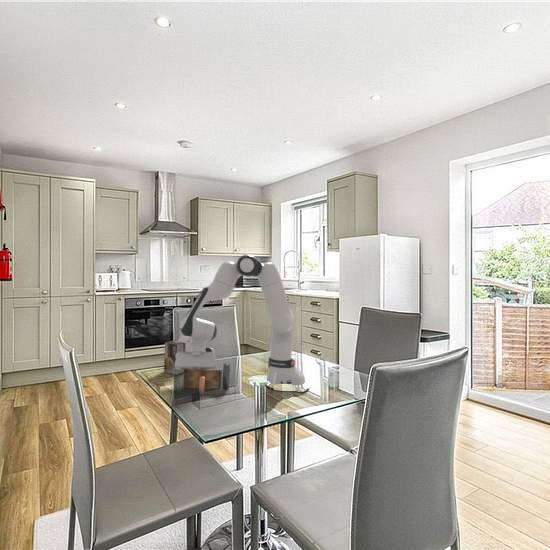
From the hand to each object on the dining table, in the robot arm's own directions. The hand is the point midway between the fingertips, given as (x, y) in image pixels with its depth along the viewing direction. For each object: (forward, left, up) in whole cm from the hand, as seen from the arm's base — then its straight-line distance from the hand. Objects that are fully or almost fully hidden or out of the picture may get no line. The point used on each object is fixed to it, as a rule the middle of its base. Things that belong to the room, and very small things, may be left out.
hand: (194, 377), depth 195 cm
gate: (-4, 0, -4) cm, 6 cm away
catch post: (-6, +6, -5) cm, 10 cm away
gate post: (-15, -4, -5) cm, 16 cm away
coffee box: (+19, -19, -5) cm, 27 cm away
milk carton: (+17, -30, -5) cm, 35 cm away
